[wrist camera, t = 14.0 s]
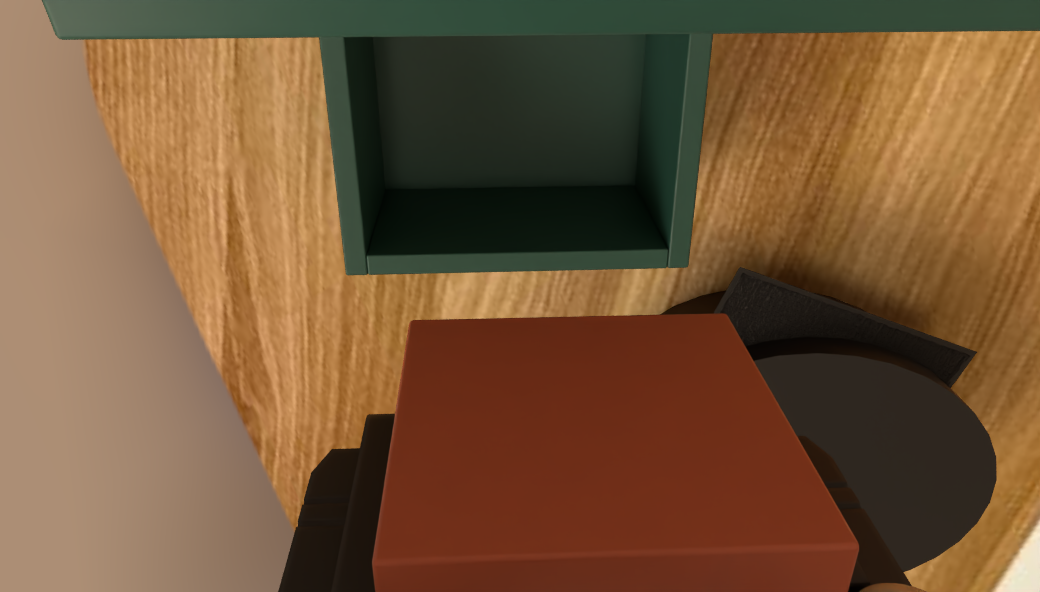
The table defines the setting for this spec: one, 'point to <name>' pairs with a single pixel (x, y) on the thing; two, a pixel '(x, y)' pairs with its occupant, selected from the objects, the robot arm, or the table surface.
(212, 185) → the table surface
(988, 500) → the waffle maker
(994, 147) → the table surface
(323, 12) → the lid
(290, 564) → the robot arm
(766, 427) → the block
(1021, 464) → the table surface
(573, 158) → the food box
